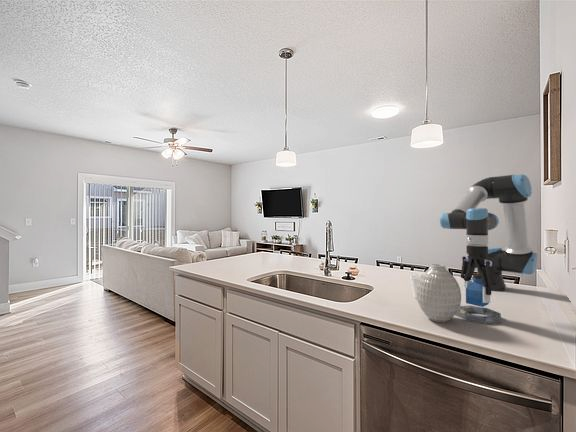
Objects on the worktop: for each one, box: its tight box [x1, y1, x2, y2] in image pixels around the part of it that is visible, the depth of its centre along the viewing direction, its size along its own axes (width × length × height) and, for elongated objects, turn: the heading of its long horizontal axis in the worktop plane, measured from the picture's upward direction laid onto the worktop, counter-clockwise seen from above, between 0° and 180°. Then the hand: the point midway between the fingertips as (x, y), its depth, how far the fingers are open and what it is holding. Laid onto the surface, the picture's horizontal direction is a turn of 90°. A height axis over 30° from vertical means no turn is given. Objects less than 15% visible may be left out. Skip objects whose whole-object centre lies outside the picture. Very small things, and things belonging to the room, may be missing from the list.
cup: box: [409, 274, 422, 300], centre depth 142 cm, size 10×10×11 cm
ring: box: [454, 304, 502, 325], centre depth 117 cm, size 16×16×3 cm
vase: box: [416, 263, 462, 323], centre depth 114 cm, size 16×16×22 cm
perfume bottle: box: [465, 273, 489, 308], centre depth 117 cm, size 6×6×12 cm
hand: (477, 299), depth 117 cm, fingers closed on perfume bottle, 8 cm apart
